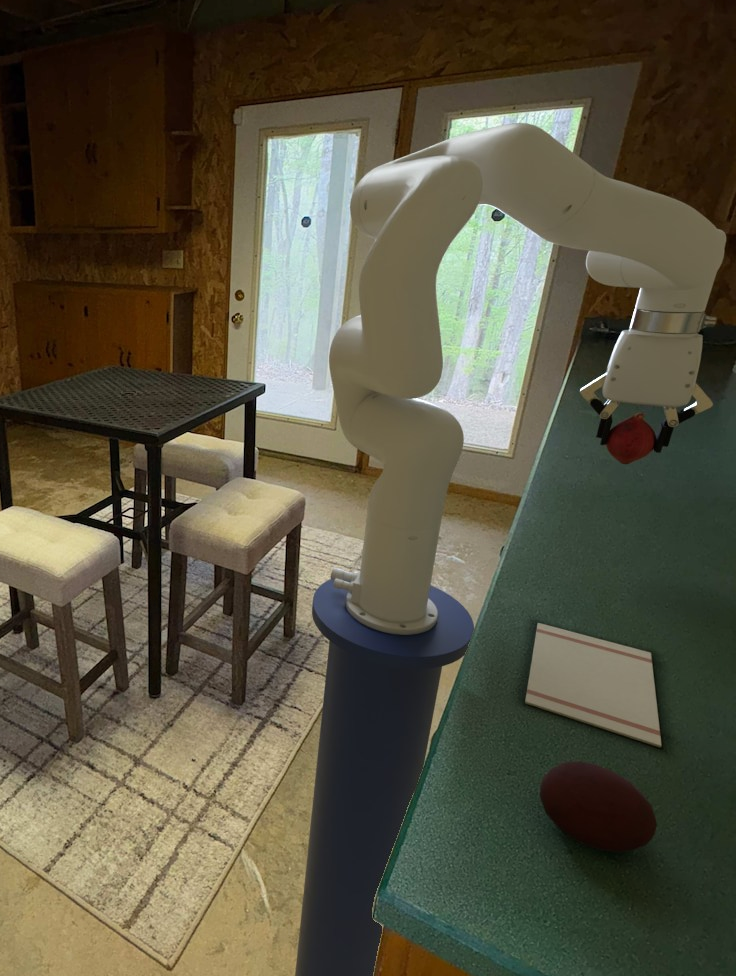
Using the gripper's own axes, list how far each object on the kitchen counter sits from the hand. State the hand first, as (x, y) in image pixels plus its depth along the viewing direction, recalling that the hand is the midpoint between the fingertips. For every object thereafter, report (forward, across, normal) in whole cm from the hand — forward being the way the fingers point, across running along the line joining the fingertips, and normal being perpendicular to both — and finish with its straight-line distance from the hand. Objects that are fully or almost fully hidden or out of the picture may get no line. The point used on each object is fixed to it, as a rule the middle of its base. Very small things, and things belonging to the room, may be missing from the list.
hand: (629, 445), depth 93 cm
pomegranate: (+3, 0, 0) cm, 3 cm away
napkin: (+19, +1, +35) cm, 40 cm away
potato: (+20, +1, +59) cm, 62 cm away
